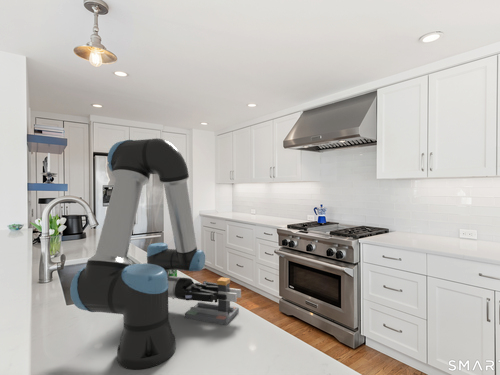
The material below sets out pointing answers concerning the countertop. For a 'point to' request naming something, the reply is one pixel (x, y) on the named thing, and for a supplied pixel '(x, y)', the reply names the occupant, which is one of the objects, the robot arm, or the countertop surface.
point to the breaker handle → (225, 287)
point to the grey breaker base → (211, 313)
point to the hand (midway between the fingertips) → (238, 295)
